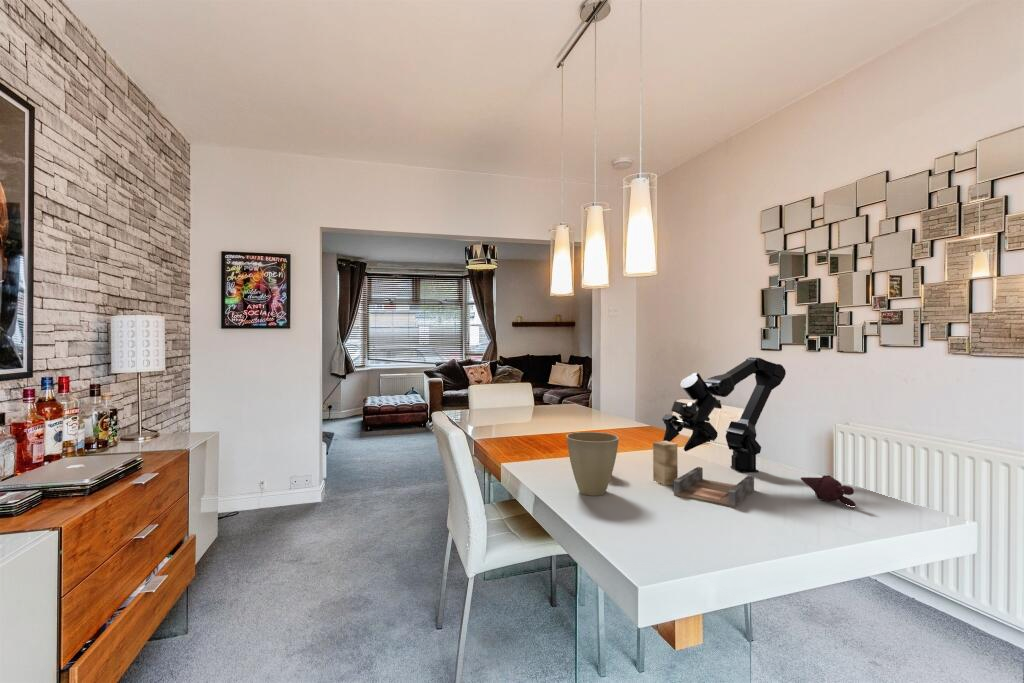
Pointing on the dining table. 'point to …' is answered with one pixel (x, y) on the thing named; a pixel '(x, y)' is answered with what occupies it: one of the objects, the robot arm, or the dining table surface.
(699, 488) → the bay
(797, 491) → the dining table surface
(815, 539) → the dining table surface
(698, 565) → the dining table surface
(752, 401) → the robot arm
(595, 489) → the plant pot
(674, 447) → the oak block
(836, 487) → the icecream
